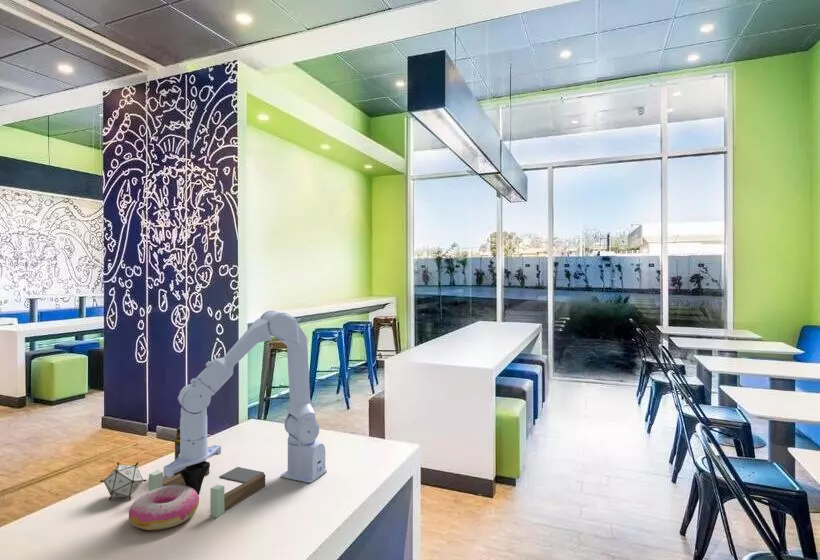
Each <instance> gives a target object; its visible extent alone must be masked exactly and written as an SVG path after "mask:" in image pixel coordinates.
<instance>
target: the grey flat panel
mask: <svg viewBox="0 0 820 560" xmlns="http://www.w3.org/2000/svg"><path fill="white" fill-rule="evenodd" d="M260 473H261V474H265V472H264V471H260V470H255V469H249V468H245V467H241V466H237V467H236V466H235V468H233V469H231V470H229V471H226V472H225V473H223V474H222V475H220V476H218V477H219V478H220V479H224V480H228V481H229V480H230V481H235V482H239V483H241V484H243V483H245V482H246V481H248V480H250V479H252V478H253V477H255V476H257V475H259V474H260Z"/></svg>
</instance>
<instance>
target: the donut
mask: <svg viewBox="0 0 820 560" xmlns="http://www.w3.org/2000/svg"><path fill="white" fill-rule="evenodd" d="M199 502H200V496H199V495H198V494H197V492H196V491H195V490H194V489H193V488H191V487H189V486H185V485H170V486H164V487H160V488H157V489H154V490H151V491H149V490H148V491H147V492H145V493H143V494H142V495H140V496H138V498H136V499H135V500H134V502H133V503H132V504H131V506H130V508H129V510H128V519H129V522H130V523H131V524H132V525H133V526H134V527H136V528H138V529H141V530H144V531H159V530H160V531H161V530H167V529H170V528H173V527H176V526H179V525H181V524H182V523H185V521H187V520H188V519H189V518H191V517H192V516H193V515H194V514H195V513H196V511H197V509H198V506H199V505H200V504H199Z"/></svg>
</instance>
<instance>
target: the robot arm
mask: <svg viewBox="0 0 820 560" xmlns="http://www.w3.org/2000/svg"><path fill="white" fill-rule="evenodd" d="M273 337H274V338H277V339H278V340H279V341H280V342H282V344H284V345H285V346H286V351H287V352H286V353H287V370H288V371H287V372H288V392H289V405H288V406H287V410H286V412H287V413H286V418H285V419H284V425H283V426H284V430H285V432H286V433H288V437H287V470H286V471H285V472H283V473H281V474H279V475H280V477H281V478H284V479H289V480H294V481H299V482H303V483H310V484H311V483H313V481H315V480H317V479H318V478H320V477H321V476H323V475H325V474H326V473H327V472H328V469H326V446H325V444H324V443H321V442H319V441H317V438H318V437H319V433H320V425H319V423H318V421H317V419H316V418H317V417H316V412H315V410H314V408H313V406H312V404H311V389H310V373H309V372H310V371H309V355H308V354H309V353H308V352H309V350H308V337H307V335H306V333H305V332H304V330H303V328H301V326H300V324H299V322H298V319H296V318H295V317H293V316H292V315H290V314H289V313H287V312H278V311H276V310H267V311H265V312H263V313H262V314H261V316H260V317H259V318H257V319H256V320H254V322H252V324H251V326H250V327H249V328H248V329H246V331H245V332H244V334H243V335H241V337H240V338H239V339H238V340H237V341H236V342H235V343H234V345H233V346H232V347H231V348H229V350H228V351H227V352H226V353H225V354H224V356H222V357H218V358H213V360H212V361H210V360H209V361H207V362H206V363H205V368H204V369H203V370H201V372H200V373H199V374H198V375H197V376H196V377H195V378H193V377H192V379H190V382H189V384H186V385H184V386H183V387H182V388H181V390H180V391H179V395H178V396H177V401H178V404H179V405H181V407H180V419H179V427H180V454H179V458H177V459H176V460H175V459H174V460H173V461H172V462H170V463H169V464H166V465H165V466H163V477H166V476H168V477H171V476H173V475H174V473H177V472H179V473H180V474H181V476H182V478H183V479H184V482H185V484H186V486H189V487H191V488H193V489H194V490H195V491H196V492H197V494H198V496H199V495H200V493H201V489H202V486H203V485H202V484H203V481H204V479H205V477H206V476H205V474H206V472H207V470H208V469H209V470H210V467H211V463H210V461H206V460H208V459H209V458H212V457H214V456H219V455H221V454H222V445H217V444H214V445H211V446H209V447H208V412H207V411H208V410H207V409H208V407H209V406H210V404H211V400H212V399H211V398H212V396H214V395H216V393H217V392H218V391H219V390H220V389H221V388H222V386H224V385H225V383H226V382H228V381H229V379H230V378H231V377H232V376H233V374H234V367H235V365H237V364H238V363H239V362H240V361H241V360H242V359H243V358H244V357H245V356H246V355H247V354H248V353H249V352H250V351H251V350H253V349H254V347H256V345H258V344H259V343H263V342H267V341H273Z"/></svg>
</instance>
